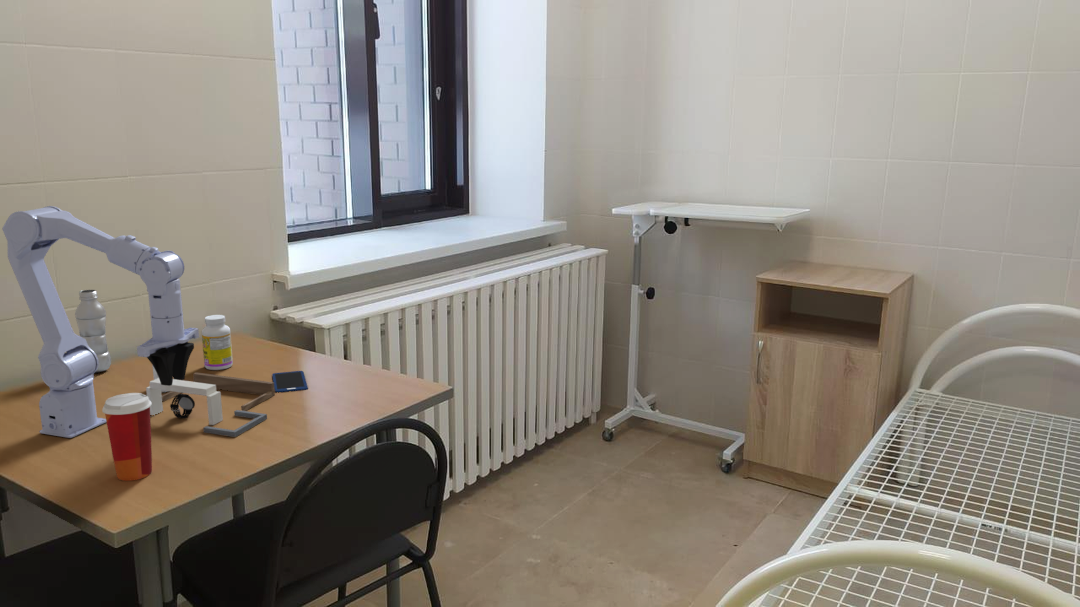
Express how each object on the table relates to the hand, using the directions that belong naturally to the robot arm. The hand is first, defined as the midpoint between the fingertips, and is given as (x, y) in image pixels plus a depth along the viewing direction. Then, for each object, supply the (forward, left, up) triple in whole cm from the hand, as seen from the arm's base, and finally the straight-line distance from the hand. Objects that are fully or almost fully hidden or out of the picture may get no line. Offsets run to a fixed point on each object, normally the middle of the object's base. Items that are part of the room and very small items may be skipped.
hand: (172, 382), depth 161 cm
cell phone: (+34, -3, -11) cm, 35 cm away
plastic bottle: (+25, +45, -11) cm, 52 cm away
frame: (+7, -8, -10) cm, 15 cm away
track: (+14, +5, -10) cm, 18 cm away
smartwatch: (+7, +5, -11) cm, 13 cm away
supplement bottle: (+38, +20, -11) cm, 44 cm away
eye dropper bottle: (+20, +21, -11) cm, 30 cm away
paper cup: (-18, -6, -11) cm, 22 cm away
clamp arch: (+7, +4, -10) cm, 13 cm away
